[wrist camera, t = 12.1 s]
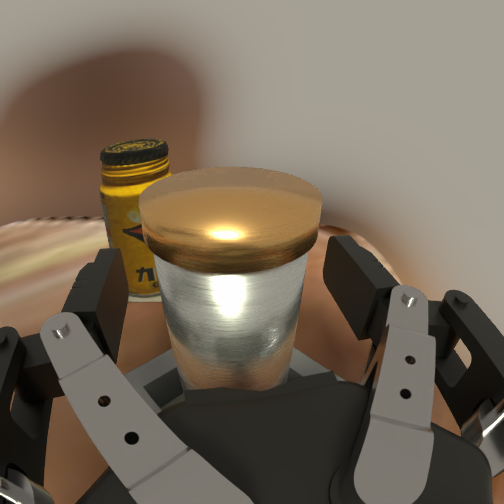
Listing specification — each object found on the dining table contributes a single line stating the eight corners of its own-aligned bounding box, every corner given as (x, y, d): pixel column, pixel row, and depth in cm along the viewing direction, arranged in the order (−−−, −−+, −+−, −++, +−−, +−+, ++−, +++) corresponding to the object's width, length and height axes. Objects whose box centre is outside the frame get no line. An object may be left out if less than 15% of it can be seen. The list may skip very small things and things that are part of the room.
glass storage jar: (171, 415, 14) (111, 191, 8) (236, 370, 17) (236, 160, 11) (233, 477, 11) (217, 256, 5) (300, 419, 14) (354, 194, 8)
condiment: (184, 301, 24) (172, 150, 18) (88, 303, 23) (54, 163, 17) (187, 254, 30) (181, 133, 24) (108, 257, 29) (90, 142, 23)
